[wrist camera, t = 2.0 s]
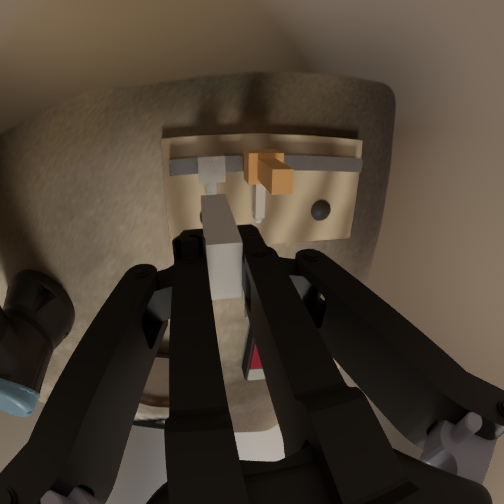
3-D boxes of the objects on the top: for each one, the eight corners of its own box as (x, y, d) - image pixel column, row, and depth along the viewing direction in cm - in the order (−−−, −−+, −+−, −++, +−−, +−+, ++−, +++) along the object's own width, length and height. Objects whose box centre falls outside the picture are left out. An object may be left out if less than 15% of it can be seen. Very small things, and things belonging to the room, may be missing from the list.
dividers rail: (175, 222, 36) (173, 239, 32) (169, 153, 32) (165, 160, 27) (348, 212, 41) (365, 225, 37) (355, 153, 36) (375, 160, 32)
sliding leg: (241, 219, 37) (259, 259, 28) (241, 147, 32) (261, 163, 23) (270, 217, 38) (296, 256, 29) (272, 147, 33) (304, 163, 24)
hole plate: (172, 247, 39) (171, 253, 38) (162, 138, 32) (160, 139, 30) (345, 233, 45) (349, 238, 43) (357, 139, 37) (363, 141, 35)
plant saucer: (215, 392, 60) (216, 403, 57) (137, 401, 57) (136, 411, 54) (194, 337, 49) (194, 350, 47) (99, 350, 47) (96, 362, 44)
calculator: (311, 328, 49) (293, 378, 56) (303, 314, 53) (288, 364, 59) (255, 332, 47) (245, 383, 53) (250, 317, 50) (241, 368, 57)
